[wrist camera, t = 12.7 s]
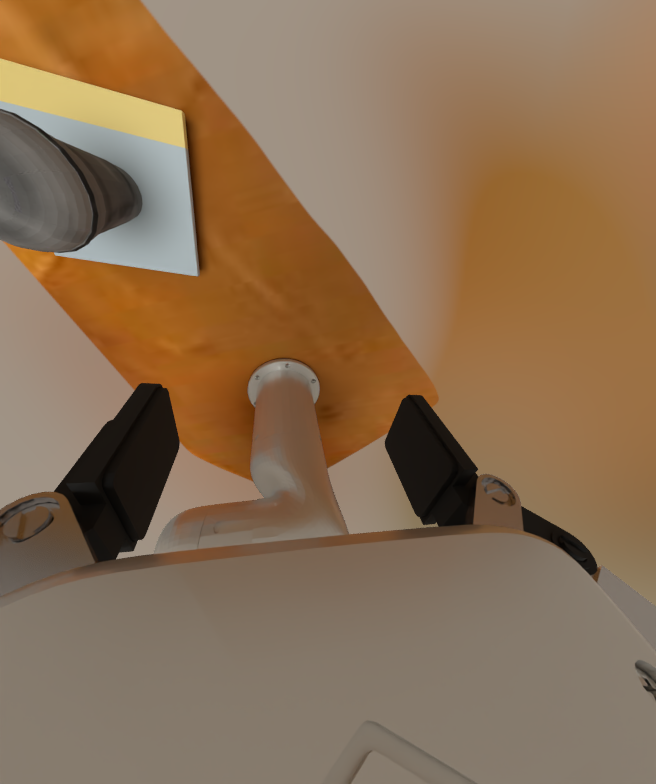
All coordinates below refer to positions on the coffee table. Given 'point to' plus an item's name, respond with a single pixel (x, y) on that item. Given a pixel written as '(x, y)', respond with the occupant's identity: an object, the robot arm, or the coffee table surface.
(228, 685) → the robot arm
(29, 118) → the plate
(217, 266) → the coffee table surface
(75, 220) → the beverage cup
